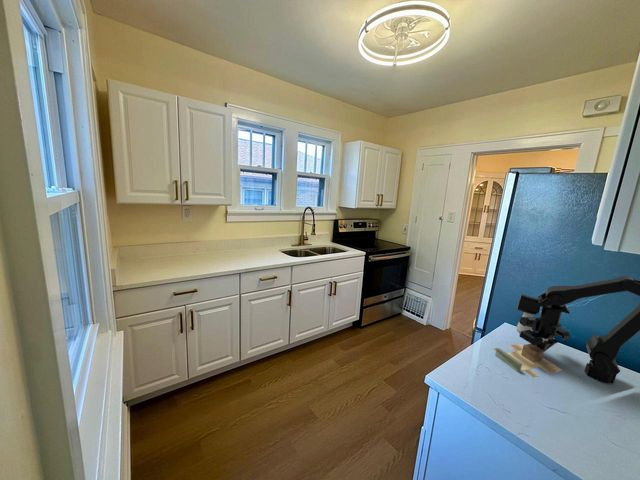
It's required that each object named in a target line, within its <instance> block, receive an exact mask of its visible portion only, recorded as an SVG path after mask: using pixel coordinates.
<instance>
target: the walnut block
mask: <svg viewBox="0 0 640 480" xmlns="http://www.w3.org/2000/svg"><path fill="white" fill-rule="evenodd" d="M544 354H545V352H544V350H542V349H541V348H539V347H537V346H536V345H532V344H531V343H528V344H527V343H526V344H524V345H523V350H522V353H521V355H522V356H524V357H525V358H527V359H528V360H530V361H531V362H537V361H541V360H542V358H544V357H543V355H544Z"/></svg>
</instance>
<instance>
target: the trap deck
mask: <svg viewBox="0 0 640 480" xmlns="http://www.w3.org/2000/svg"><path fill="white" fill-rule="evenodd" d="M523 346H524V345H523V344H521V343H516V344H511V345H507V347H509V348H510V349H512V351H511V352H510V351H509V352H506V351H504V350H503V349H501V348H500V347H495V348H493V351H495V354H494V355H495V357H497V358H498V359H500V360H501V361H502V362H503V363H505V364H506V365H507V366H509V367H510V368H512V369H513V370H514V371H515V372H521V371H523V372H525V373H526V374H528V375H529V376H531V377H532V378H535V377H540V375H539V374H537V373H536V371H535V372H534V371H533V370H532V369H534V368H540V369H542V370H543V371H545V372H547V374H553V373H557V372H561V371H563V369H562V368H561V367H558V366H557V365H555V364H554V363H552V362H550V361H549V360H548V359H545V358H544V357H542V360H541V361H537V362H531V361H530V360H528V359H527V358H525V357H524V356H522V355H521V353H522V350H523Z"/></svg>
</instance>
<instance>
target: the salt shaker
mask: <svg viewBox="0 0 640 480" xmlns="http://www.w3.org/2000/svg"><path fill="white" fill-rule="evenodd" d="M522 313H523V314H522V316H521V317H534V316H535V315H532V314H529V313H525V312H522ZM515 327H516V331H517V333H519V334H520V332H521V331H526V330H531V331H532V332H533V329H532V327H528V326H522V325H521V324H520V322H519V321H518V323H517V325H516V326H515Z"/></svg>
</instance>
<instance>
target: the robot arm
mask: <svg viewBox="0 0 640 480" xmlns="http://www.w3.org/2000/svg"><path fill="white" fill-rule="evenodd" d="M623 292H629V293H631V294H635V295H636V296H638V297H640V280H638V279H635V278H632V277H630V276H620V277H616V278H611V279H606V280H600V281H595V282H590V283H584V284H579V285H552V286H548V288H547V289H546V290H545V292H544V293H541V294H540V295H538V296H537V297H532V296H529V295H526V294H524V293H521V294H520V297H519V300H518V302H517V307H516V311H519V312H522V313H523V312H525V313H529V314H532V315H534V316H535V315H538V314H539V313H540V315H539V317H534V316H532V317H522V316H520V318H519V320H518V323H519V322H520V324H521V325H522V326H528V327H532V331H531V330H526V331H521V332H520V333H519V337H520V339H521V338H522V339H523V340H525V341H526V342H527V343H528V344H532V345H536V346H537V347H539V348H541V349H542V350H544V353H545V352H546V351H547V350H549V349H550V348H551V347H554V345H556V344H557V343H558V342H559V341H558V340H556V339H555V337H560V336H561V339H562V340H563V341H568V340H570V338H571V334H570V332H569V331H568V330H565V329H563V328H562V323H560V321H561V317H562V314H563V313H565V314H568V315H569V314H571V312H570V309H569V308H568V307H567V304H571V303H573V302H575V301H577V300H580V299H585V298H590V297H598V296H602V295H603V296H604V295H609V294H615V293H623ZM541 307H542V308H541ZM535 331H536V332H535ZM639 332H640V302H639V303H638V305H637V307H636V308H634V309H633V310H632V311H631V312H630V313H629V314H628V315H627V316H625V317H624V318H623V319H621V321H620V322H619V323H618V324H616V325H614V327H612V329H611V330H610V331H609V332H607V333H606V334H605V335H602V336H601V335H600V336H598V335H597V334H593V335H592V337H591V338H590V339H588V340H586V350H587V353H588V355H589V358H590V360H589V361H588V362H587V363H586V365H585V368H584V369H583V370H584V371H583V372H584V373H585V375H586V376H587V377H589V378H591V379H594V380H595V381H597V382H600V383H603V384H613V385H614V383H615V381H616V378H617V375H618V374H619V373H621V370H620V368H619V365H618V363H617V362H616V358H617V356H618V354H619V352H620V350H621V347H622V346H623V345H625V344H627V342H628V341H629V340H631V339H632V338H633V337H634V336H635V335H637V333H639Z"/></svg>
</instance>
